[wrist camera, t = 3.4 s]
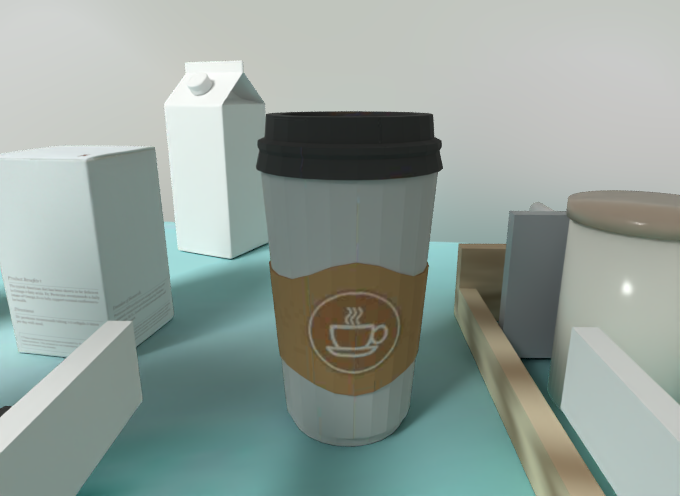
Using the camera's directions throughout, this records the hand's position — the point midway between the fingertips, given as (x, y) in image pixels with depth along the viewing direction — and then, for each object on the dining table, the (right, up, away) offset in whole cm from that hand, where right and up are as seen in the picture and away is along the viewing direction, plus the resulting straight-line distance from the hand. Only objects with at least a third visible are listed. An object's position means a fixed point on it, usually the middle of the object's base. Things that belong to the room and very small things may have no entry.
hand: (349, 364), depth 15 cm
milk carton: (-13, +3, +40) cm, 42 cm away
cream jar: (+15, -5, +12) cm, 20 cm away
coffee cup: (0, -5, +11) cm, 12 cm away
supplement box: (-17, -3, +20) cm, 26 cm away
